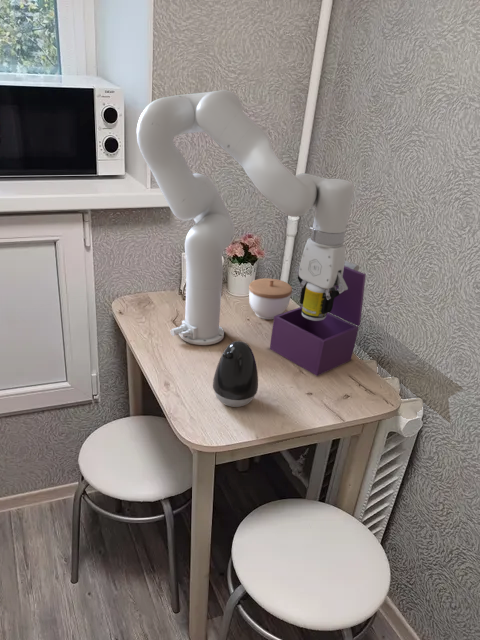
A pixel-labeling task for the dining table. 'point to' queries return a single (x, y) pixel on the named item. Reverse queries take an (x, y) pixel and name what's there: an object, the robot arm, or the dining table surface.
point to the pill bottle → (313, 302)
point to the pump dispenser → (236, 375)
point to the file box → (313, 340)
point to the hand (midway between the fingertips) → (315, 306)
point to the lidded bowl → (269, 297)
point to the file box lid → (350, 295)
